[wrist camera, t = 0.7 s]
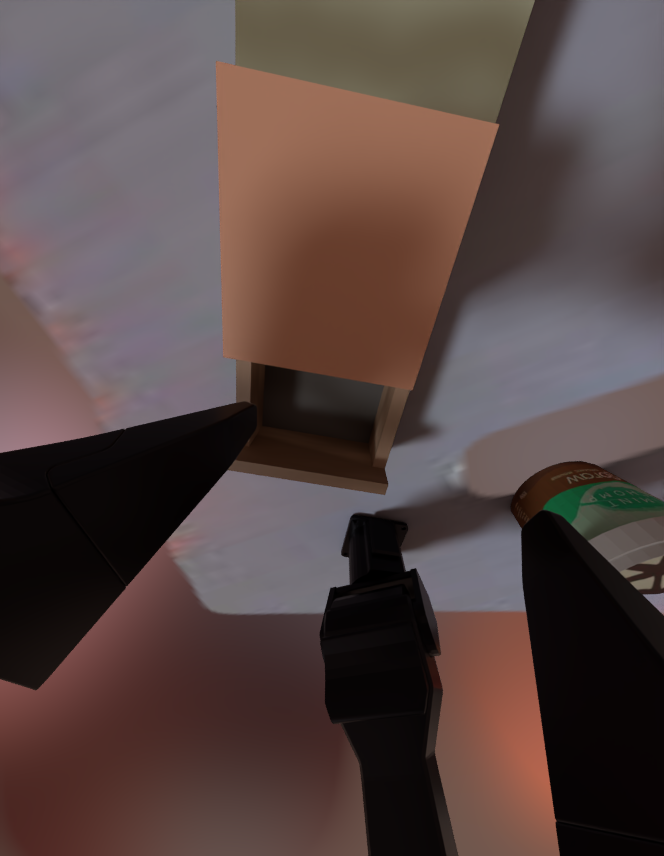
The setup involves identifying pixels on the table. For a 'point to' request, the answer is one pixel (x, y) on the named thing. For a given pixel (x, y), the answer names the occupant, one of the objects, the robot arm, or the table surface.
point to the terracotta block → (338, 223)
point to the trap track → (394, 80)
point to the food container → (602, 517)
